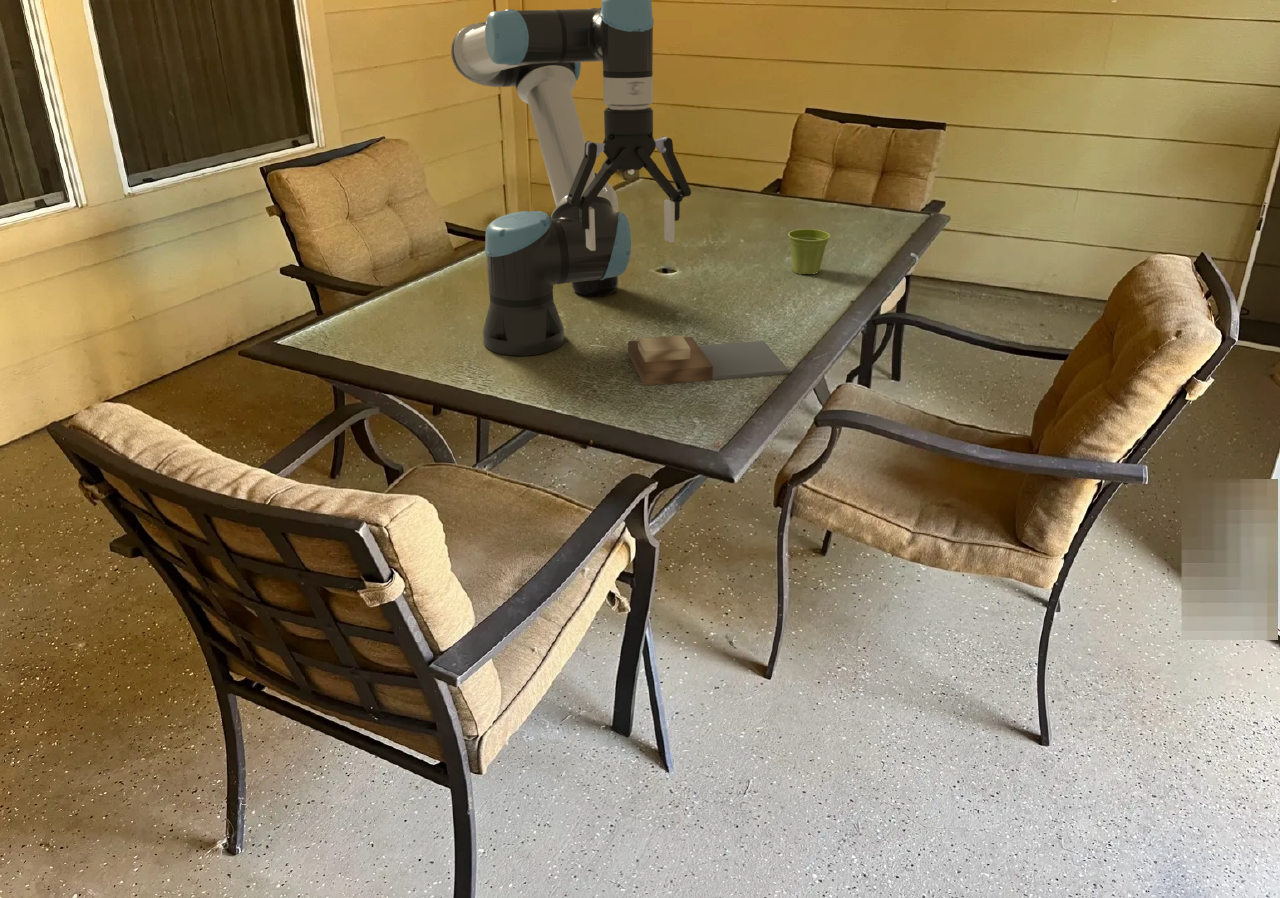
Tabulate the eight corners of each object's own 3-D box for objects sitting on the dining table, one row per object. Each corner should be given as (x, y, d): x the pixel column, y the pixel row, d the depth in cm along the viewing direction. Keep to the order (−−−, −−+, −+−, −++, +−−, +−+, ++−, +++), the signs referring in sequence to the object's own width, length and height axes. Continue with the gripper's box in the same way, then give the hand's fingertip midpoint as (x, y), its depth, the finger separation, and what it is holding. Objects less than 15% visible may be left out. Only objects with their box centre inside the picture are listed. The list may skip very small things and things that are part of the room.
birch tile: (645, 362, 157) (645, 351, 156) (637, 349, 162) (638, 338, 161) (690, 358, 158) (690, 348, 158) (681, 345, 164) (681, 335, 163)
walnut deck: (644, 385, 155) (644, 372, 153) (627, 353, 167) (628, 341, 165) (712, 379, 157) (712, 366, 156) (691, 349, 169) (691, 336, 168)
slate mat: (712, 379, 157) (712, 376, 157) (691, 349, 169) (691, 346, 169) (789, 373, 159) (789, 370, 159) (763, 343, 171) (763, 340, 171)
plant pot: (808, 280, 204) (812, 242, 200) (776, 270, 211) (779, 233, 206) (834, 272, 210) (838, 235, 206) (802, 262, 216) (806, 226, 212)
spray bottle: (628, 290, 198) (628, 172, 186) (594, 301, 191) (592, 180, 179) (595, 279, 204) (593, 165, 192) (561, 290, 197) (557, 172, 185)
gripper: (556, 113, 132) (563, 257, 142) (713, 104, 140) (709, 242, 149) (543, 108, 138) (550, 246, 148) (693, 100, 146) (691, 232, 155)
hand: (630, 245), depth 149 cm, fingers open, 13 cm apart
